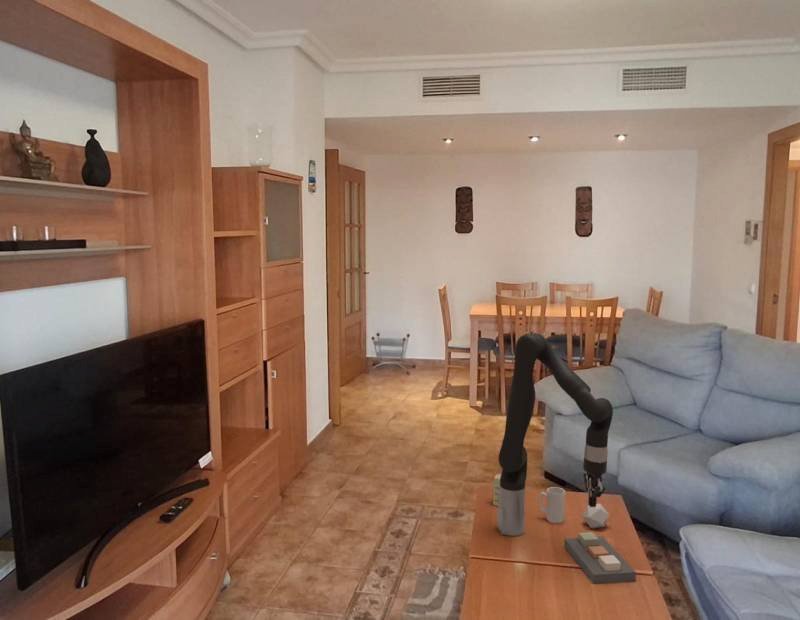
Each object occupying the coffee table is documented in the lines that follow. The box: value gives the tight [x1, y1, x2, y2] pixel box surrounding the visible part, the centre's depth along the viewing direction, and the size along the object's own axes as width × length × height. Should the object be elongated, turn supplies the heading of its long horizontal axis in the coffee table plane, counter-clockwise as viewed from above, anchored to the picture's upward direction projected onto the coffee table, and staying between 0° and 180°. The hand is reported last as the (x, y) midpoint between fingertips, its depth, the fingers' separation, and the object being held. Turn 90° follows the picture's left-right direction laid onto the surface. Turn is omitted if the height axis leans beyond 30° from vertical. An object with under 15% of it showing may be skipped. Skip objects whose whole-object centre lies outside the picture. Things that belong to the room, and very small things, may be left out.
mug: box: [537, 486, 566, 524], centre depth 236 cm, size 10×7×12 cm, turn 80°
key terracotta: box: [588, 546, 609, 559], centre depth 205 cm, size 5×5×4 cm
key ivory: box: [598, 555, 621, 572], centre depth 197 cm, size 5×5×4 cm
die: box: [582, 503, 610, 529], centre depth 231 cm, size 8×9×10 cm
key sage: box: [578, 531, 598, 547], centre depth 212 cm, size 5×5×4 cm
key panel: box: [563, 535, 637, 585], centre depth 205 cm, size 14×24×3 cm, turn 7°
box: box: [492, 473, 502, 507], centre depth 250 cm, size 10×6×12 cm, turn 65°
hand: (592, 506), depth 208 cm, fingers closed
